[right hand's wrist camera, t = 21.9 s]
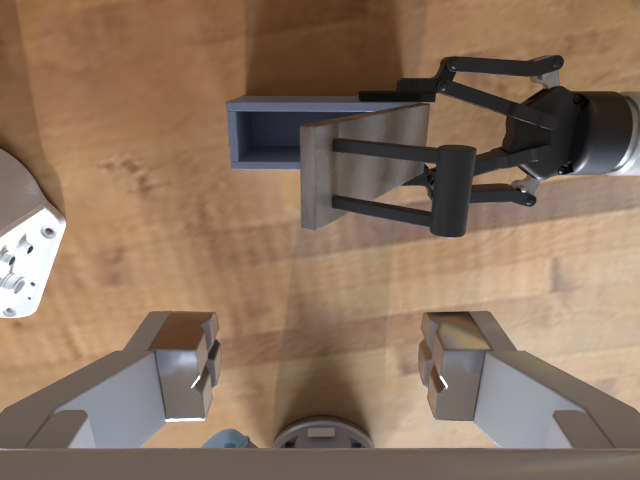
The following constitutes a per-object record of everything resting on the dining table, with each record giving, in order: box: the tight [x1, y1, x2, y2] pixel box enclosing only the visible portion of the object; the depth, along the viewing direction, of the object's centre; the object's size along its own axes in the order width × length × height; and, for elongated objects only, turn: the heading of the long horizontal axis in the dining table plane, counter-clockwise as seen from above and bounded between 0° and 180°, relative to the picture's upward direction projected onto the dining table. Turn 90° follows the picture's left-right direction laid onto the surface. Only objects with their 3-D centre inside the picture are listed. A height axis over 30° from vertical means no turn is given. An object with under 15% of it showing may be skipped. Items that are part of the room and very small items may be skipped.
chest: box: [226, 95, 421, 170], centre depth 42 cm, size 17×6×9 cm, turn 90°
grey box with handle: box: [300, 103, 477, 238], centre depth 29 cm, size 17×6×9 cm
